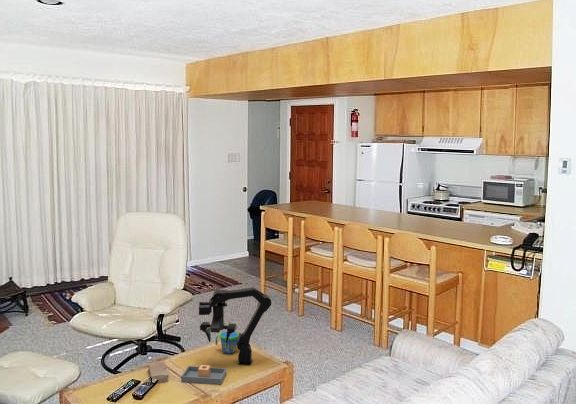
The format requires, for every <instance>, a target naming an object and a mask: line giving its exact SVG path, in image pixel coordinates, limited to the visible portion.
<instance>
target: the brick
mask: <svg viewBox="0 0 576 404" xmlns="http://www.w3.org/2000/svg"><path fill="white" fill-rule="evenodd" d="M148 375H149V378H150V377H151V378H152V379H157V380H159V383H158V384H162V383H164V384H165V383H168V382H169V372H168V369H167V365H166V362H165V360H159V361H158V360H157V361H153V362H149V363H148ZM151 378H150V379H151Z"/></svg>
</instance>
